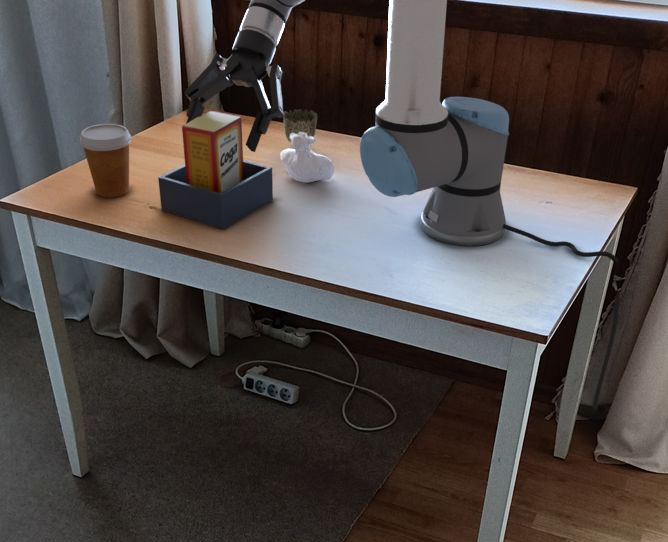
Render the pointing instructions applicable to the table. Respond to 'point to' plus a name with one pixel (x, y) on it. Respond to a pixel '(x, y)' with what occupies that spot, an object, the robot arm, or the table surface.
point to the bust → (306, 160)
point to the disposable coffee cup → (108, 158)
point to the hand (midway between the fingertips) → (218, 141)
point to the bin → (216, 196)
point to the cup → (299, 123)
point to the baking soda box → (213, 151)
